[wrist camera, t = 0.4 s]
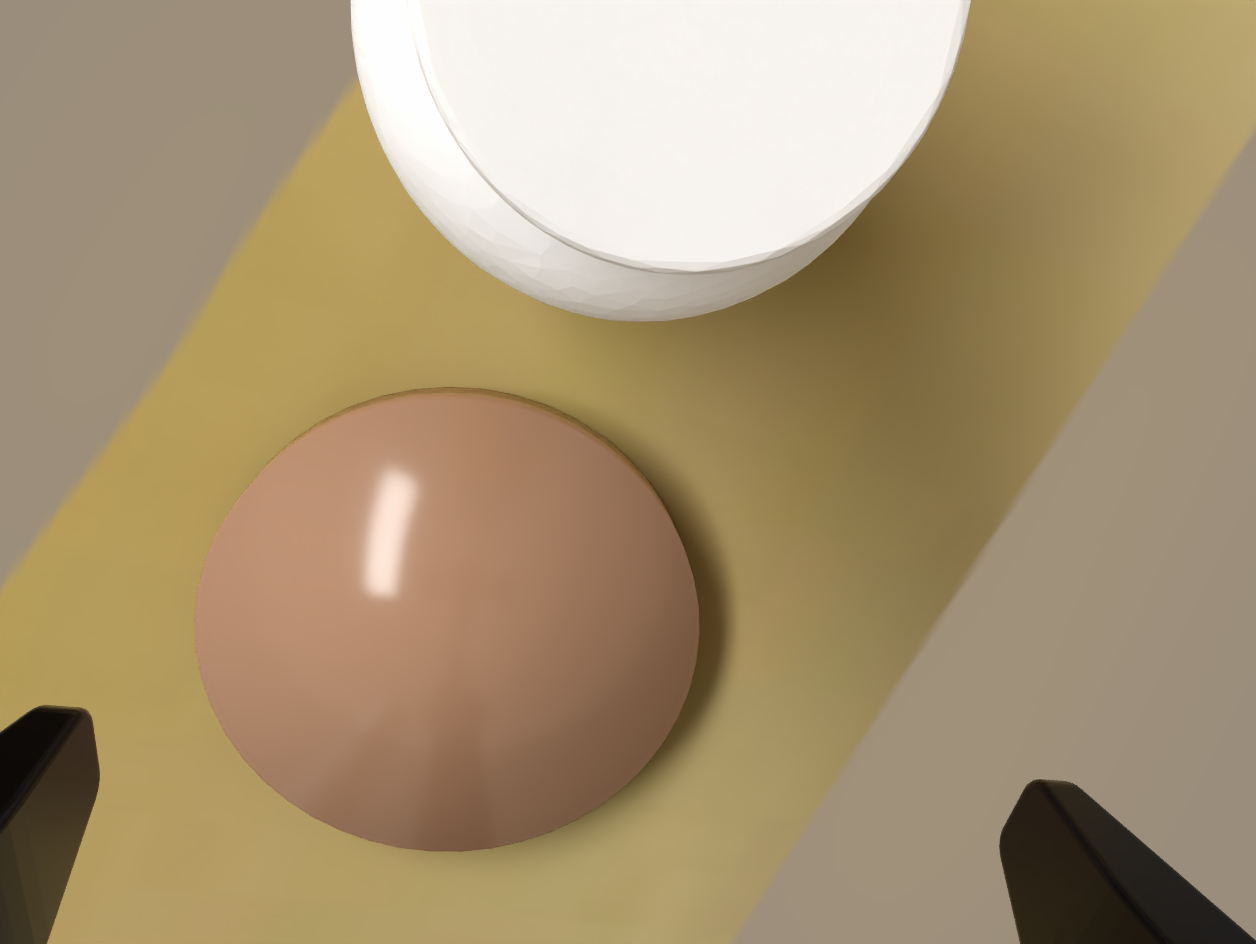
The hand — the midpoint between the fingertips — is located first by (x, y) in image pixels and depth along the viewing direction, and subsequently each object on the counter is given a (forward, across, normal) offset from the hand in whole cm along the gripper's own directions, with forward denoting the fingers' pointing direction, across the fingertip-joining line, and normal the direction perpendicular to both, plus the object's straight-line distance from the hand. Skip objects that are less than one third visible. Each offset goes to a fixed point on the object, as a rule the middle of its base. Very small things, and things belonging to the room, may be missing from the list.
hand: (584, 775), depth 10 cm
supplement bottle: (+15, 0, -4) cm, 15 cm away
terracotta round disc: (+12, +2, +8) cm, 14 cm away
